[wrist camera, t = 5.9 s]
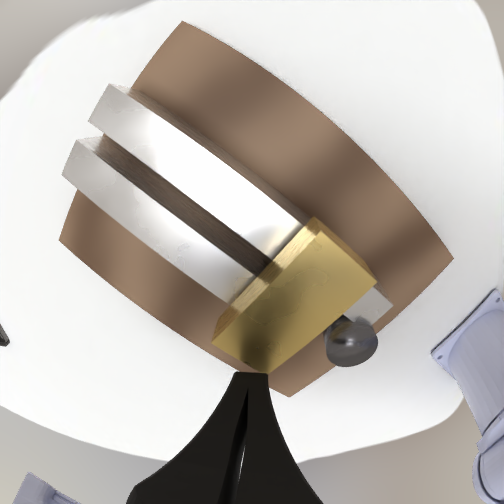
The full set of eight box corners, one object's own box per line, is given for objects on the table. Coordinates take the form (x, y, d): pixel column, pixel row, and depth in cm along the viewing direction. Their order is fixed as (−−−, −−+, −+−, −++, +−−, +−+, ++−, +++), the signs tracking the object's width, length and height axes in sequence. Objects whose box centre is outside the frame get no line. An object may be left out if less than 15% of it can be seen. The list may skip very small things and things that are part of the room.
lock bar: (364, 260, 11) (377, 282, 10) (267, 349, 14) (265, 375, 12) (313, 215, 11) (320, 231, 9) (218, 317, 13) (211, 343, 11)
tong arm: (319, 295, 16) (326, 327, 13) (296, 316, 17) (298, 350, 14) (108, 135, 13) (76, 139, 10) (93, 165, 14) (61, 174, 11)
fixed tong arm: (389, 289, 16) (410, 324, 13) (339, 334, 17) (348, 373, 14) (138, 89, 12) (103, 82, 9) (99, 156, 14) (61, 165, 11)
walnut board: (446, 252, 15) (454, 258, 14) (289, 388, 21) (289, 397, 20) (187, 26, 11) (182, 20, 10) (66, 235, 17) (58, 240, 16)
